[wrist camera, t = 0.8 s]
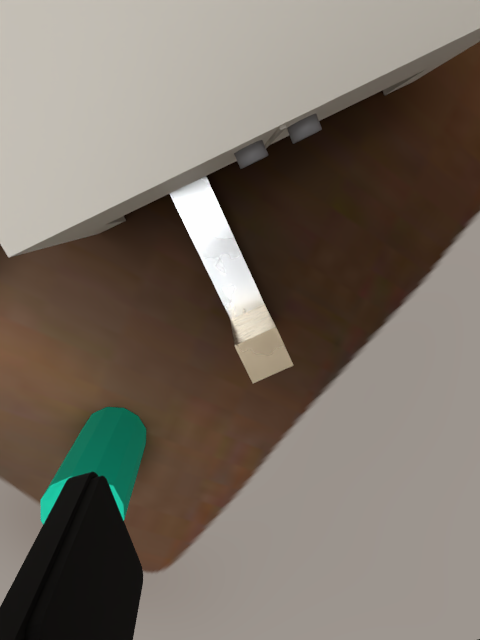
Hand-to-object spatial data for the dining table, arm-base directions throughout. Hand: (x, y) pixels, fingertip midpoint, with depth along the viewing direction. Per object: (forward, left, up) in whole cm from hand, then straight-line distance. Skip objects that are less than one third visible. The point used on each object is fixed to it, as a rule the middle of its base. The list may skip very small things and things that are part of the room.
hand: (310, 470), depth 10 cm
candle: (+17, +9, -28) cm, 34 cm away
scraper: (+1, -4, -28) cm, 28 cm away
